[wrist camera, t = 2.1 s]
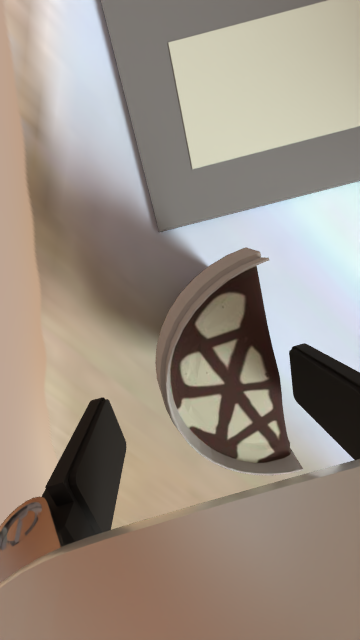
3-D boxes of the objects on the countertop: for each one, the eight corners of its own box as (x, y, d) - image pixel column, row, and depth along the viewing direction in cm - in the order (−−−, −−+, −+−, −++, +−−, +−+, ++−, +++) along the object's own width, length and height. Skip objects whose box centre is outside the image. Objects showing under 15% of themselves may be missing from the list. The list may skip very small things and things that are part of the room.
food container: (141, 276, 17) (107, 293, 7) (210, 254, 17) (266, 243, 7) (182, 393, 20) (195, 508, 11) (239, 376, 20) (304, 477, 11)
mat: (417, -94, 12) (429, -111, 11) (400, 170, 16) (409, 167, 15) (98, -8, 12) (95, -21, 12) (159, 232, 16) (158, 231, 16)
